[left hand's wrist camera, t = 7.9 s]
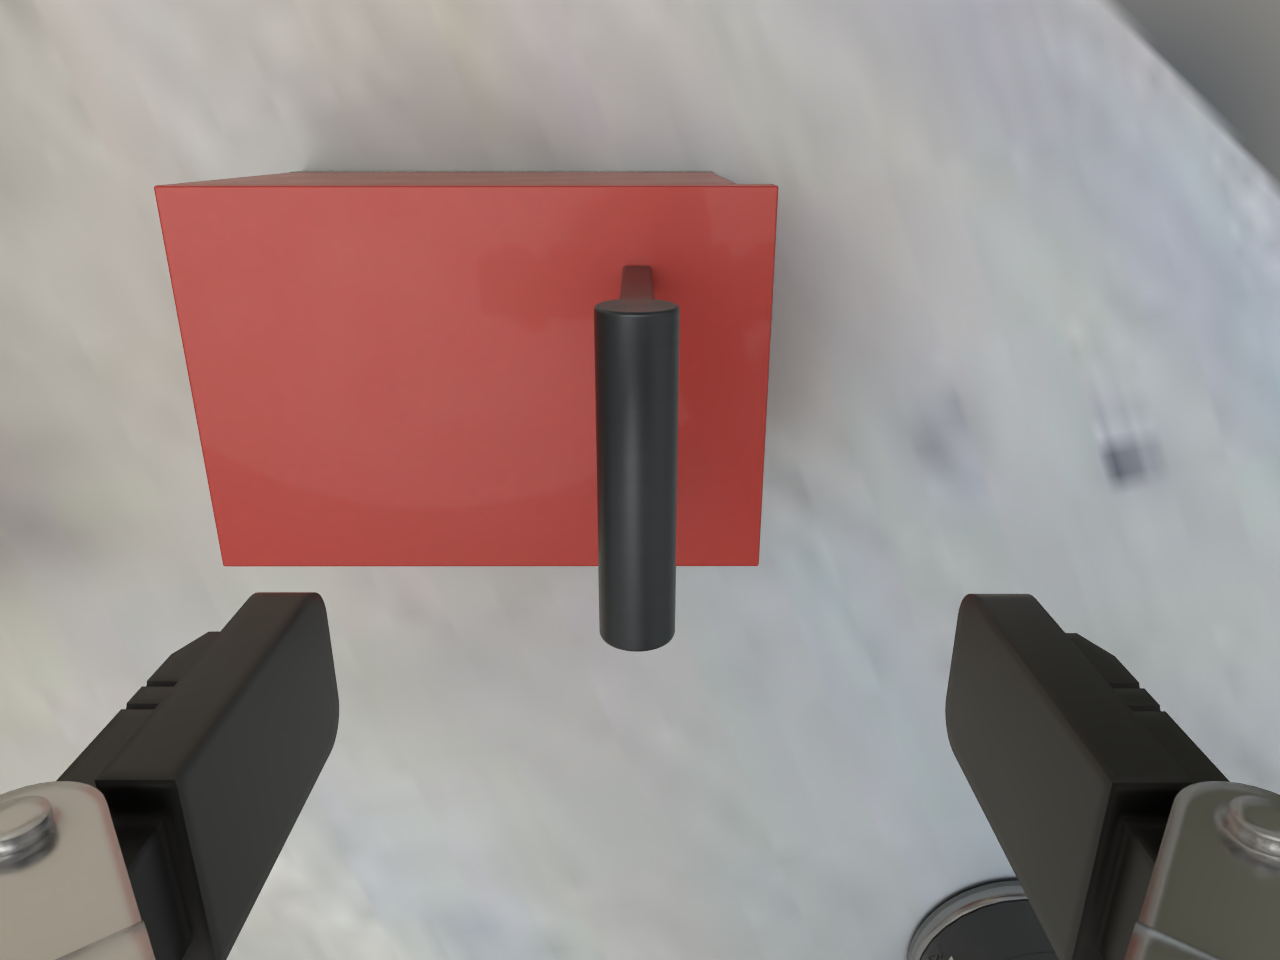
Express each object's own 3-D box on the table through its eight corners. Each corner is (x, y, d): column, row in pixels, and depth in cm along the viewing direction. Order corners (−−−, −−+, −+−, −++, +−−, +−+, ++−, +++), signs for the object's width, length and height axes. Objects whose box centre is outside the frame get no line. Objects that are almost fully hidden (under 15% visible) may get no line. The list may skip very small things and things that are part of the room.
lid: (773, 184, 22) (843, 207, 15) (755, 553, 26) (803, 726, 18) (169, 184, 22) (-73, 207, 15) (234, 554, 26) (68, 726, 18)
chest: (711, 170, 31) (739, 183, 22) (704, 449, 35) (725, 553, 26) (301, 171, 31) (169, 183, 22) (336, 449, 35) (235, 553, 26)
